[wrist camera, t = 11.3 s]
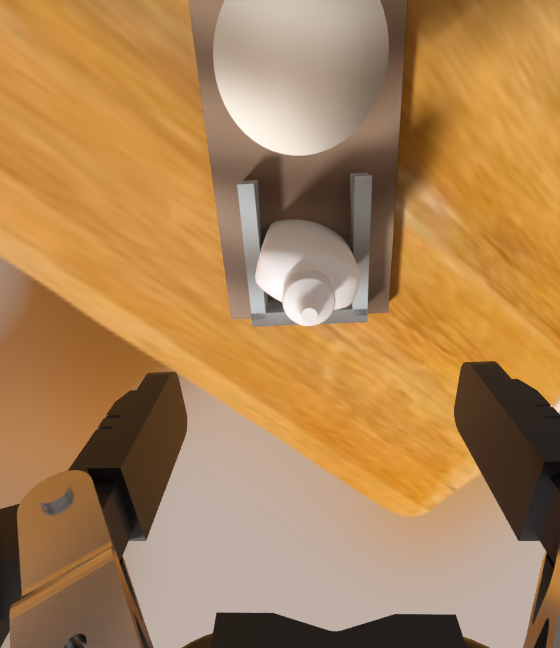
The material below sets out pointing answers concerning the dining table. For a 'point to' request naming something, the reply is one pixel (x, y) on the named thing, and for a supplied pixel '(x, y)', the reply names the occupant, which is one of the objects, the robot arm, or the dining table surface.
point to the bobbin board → (303, 172)
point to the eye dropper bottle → (307, 270)
